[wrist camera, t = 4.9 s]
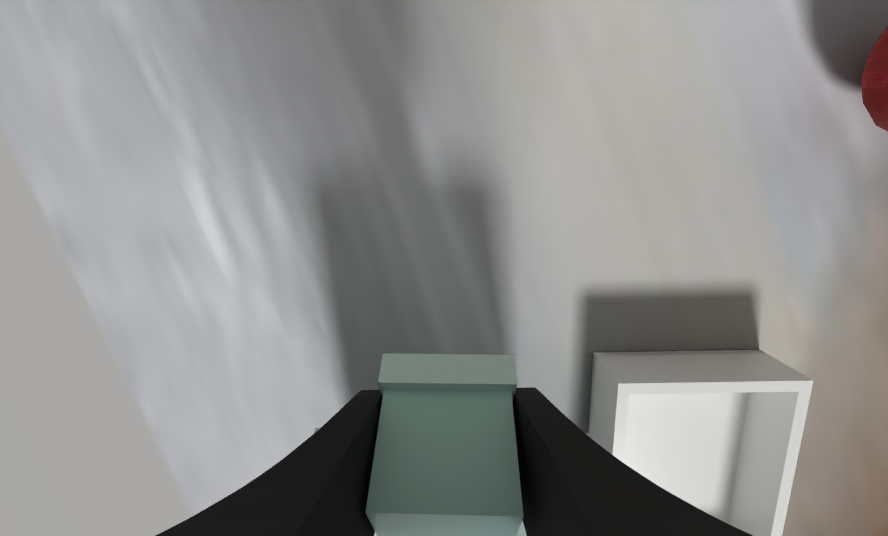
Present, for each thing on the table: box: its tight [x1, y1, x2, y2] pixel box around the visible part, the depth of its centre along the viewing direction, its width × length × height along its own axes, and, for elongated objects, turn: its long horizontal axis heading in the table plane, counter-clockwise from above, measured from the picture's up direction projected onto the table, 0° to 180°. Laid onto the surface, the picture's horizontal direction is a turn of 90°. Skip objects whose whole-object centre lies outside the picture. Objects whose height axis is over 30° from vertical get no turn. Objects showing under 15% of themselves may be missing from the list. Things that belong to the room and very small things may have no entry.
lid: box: [314, 353, 589, 536], centre depth 15 cm, size 17×9×4 cm, turn 1°
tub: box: [588, 350, 813, 536], centre depth 20 cm, size 12×8×3 cm, turn 1°
